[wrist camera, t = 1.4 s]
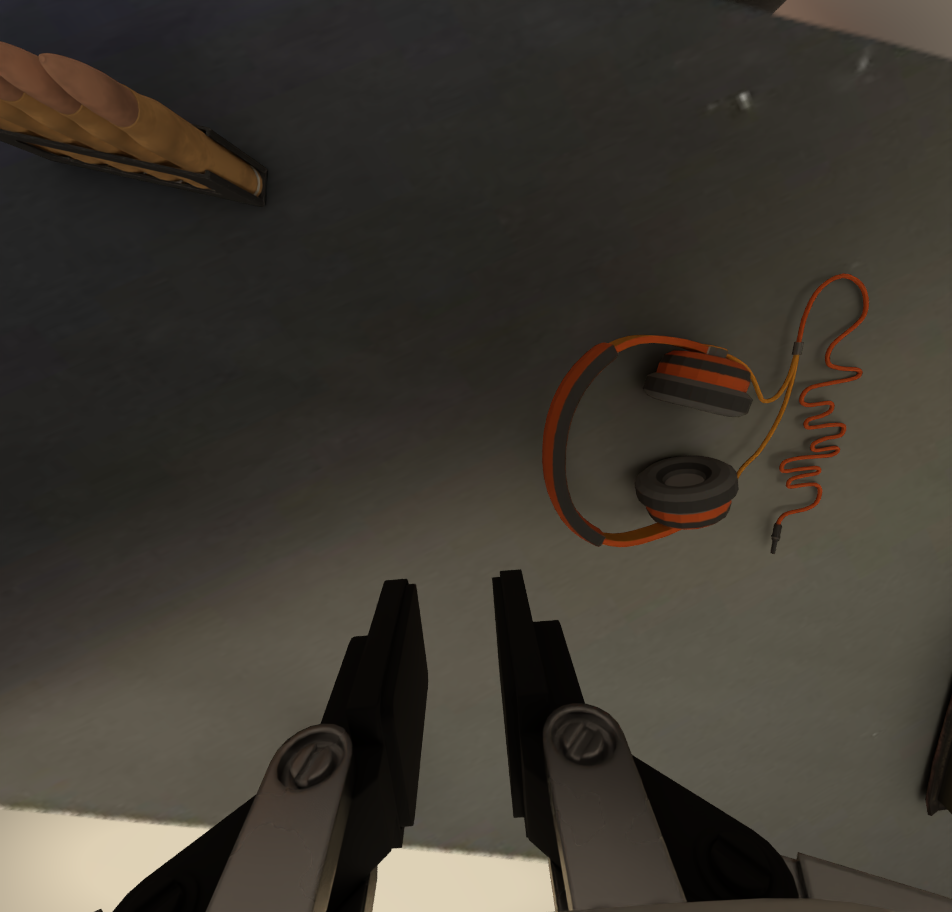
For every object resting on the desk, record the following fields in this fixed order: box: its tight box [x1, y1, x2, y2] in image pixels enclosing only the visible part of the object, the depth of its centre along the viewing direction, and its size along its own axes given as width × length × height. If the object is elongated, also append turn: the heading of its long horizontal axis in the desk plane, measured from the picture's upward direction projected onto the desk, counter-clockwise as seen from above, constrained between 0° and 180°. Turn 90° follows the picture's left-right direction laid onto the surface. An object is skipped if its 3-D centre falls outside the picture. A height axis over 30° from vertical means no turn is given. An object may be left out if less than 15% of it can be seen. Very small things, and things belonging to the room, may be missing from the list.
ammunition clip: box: [0, 41, 267, 207], centre depth 17 cm, size 11×2×12 cm, turn 79°
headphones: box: [542, 274, 869, 554], centre depth 26 cm, size 17×5×20 cm
